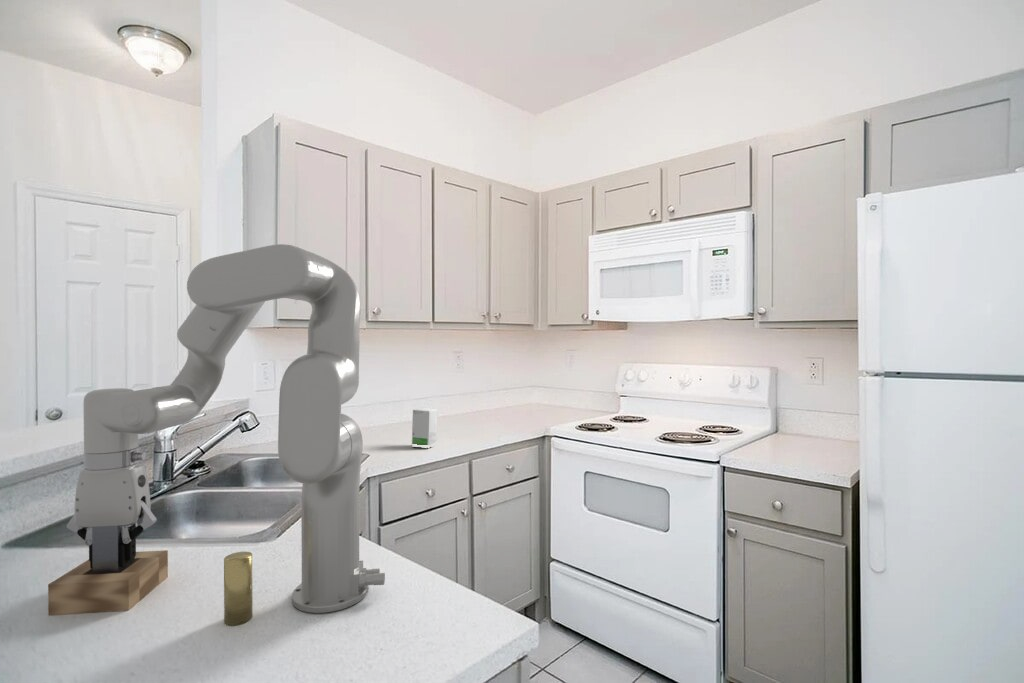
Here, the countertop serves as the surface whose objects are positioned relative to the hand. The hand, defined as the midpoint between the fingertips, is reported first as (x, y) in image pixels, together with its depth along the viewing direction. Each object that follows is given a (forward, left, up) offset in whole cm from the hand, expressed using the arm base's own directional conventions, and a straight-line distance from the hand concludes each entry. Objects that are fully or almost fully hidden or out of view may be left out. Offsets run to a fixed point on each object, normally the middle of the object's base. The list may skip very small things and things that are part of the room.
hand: (112, 563), depth 90 cm
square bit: (0, 0, -2) cm, 2 cm away
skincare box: (-49, -116, -6) cm, 126 cm away
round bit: (-25, +11, -6) cm, 28 cm away
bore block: (0, 0, -5) cm, 5 cm away
